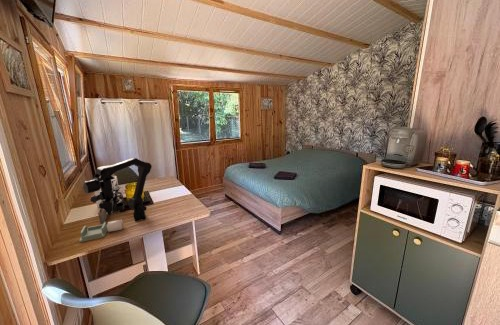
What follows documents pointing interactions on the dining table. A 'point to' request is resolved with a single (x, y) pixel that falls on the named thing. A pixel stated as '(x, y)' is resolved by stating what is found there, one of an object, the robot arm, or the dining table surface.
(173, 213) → the dining table surface
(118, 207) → the french press
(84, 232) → the holder
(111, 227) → the roll
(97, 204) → the gable box
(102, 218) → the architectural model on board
